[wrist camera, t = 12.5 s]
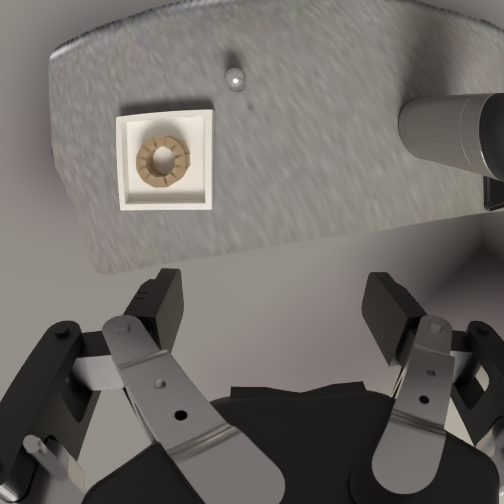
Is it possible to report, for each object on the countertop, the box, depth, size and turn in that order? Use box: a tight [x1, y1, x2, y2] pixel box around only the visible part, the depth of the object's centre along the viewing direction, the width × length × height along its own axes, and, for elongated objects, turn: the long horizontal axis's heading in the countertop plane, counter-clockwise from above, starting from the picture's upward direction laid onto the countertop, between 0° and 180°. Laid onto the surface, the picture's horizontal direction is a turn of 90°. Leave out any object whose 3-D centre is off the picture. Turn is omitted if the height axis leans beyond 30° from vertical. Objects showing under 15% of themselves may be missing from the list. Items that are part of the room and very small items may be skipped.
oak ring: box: [136, 136, 190, 188], centre depth 35 cm, size 6×6×3 cm
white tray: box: [116, 110, 215, 210], centre depth 36 cm, size 13×13×2 cm
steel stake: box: [225, 68, 245, 92], centre depth 31 cm, size 2×2×5 cm
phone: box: [483, 176, 504, 211], centre depth 36 cm, size 8×1×15 cm
